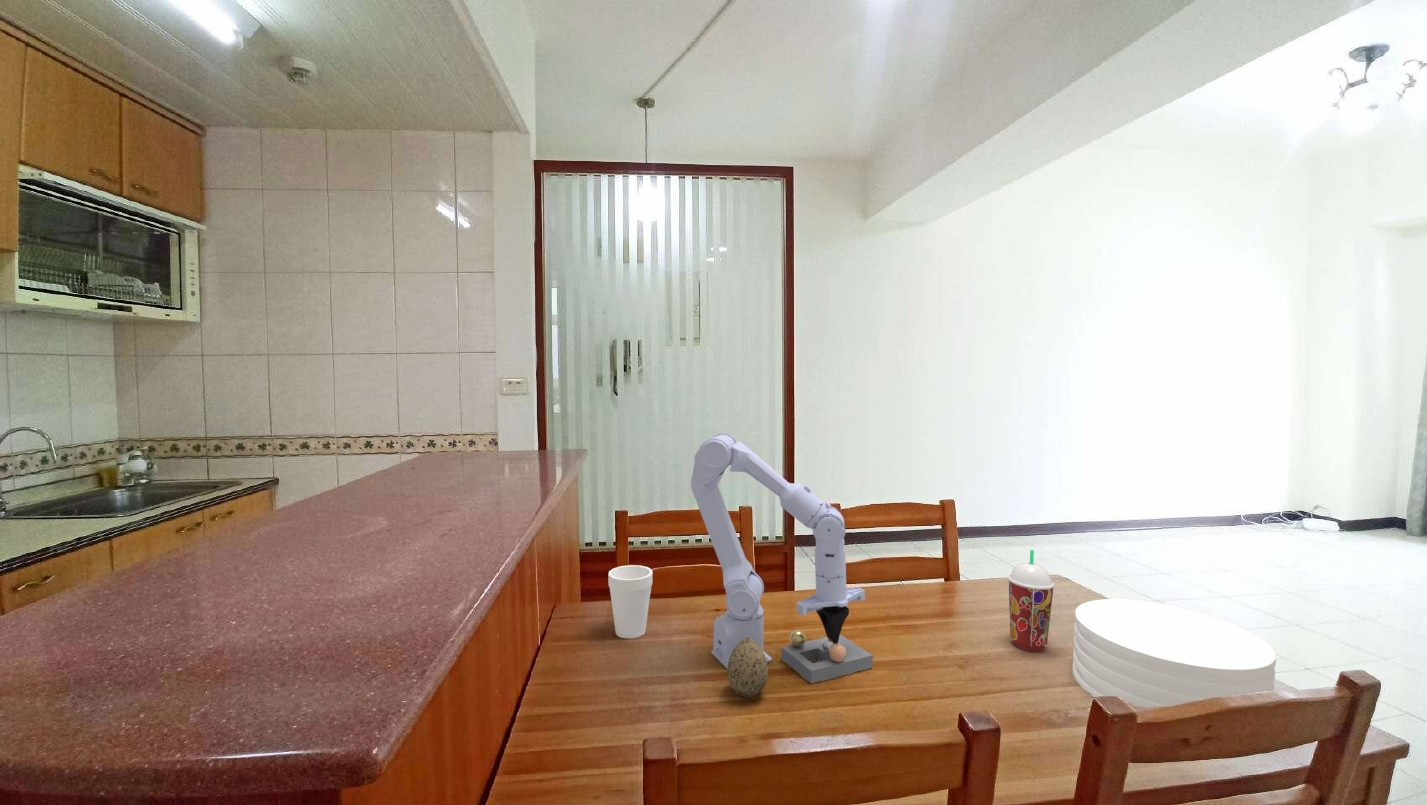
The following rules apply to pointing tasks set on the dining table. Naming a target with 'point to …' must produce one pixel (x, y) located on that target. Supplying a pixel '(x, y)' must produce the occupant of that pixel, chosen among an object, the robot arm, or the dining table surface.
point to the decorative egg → (747, 668)
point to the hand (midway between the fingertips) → (832, 643)
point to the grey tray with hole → (825, 660)
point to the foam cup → (630, 599)
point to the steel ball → (827, 644)
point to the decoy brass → (797, 638)
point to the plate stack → (1165, 654)
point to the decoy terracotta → (837, 652)
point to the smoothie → (1030, 605)
